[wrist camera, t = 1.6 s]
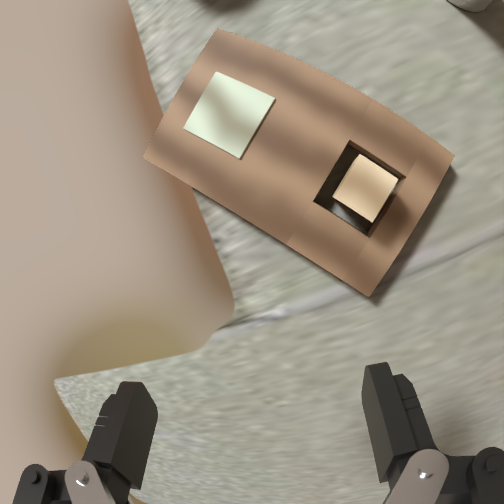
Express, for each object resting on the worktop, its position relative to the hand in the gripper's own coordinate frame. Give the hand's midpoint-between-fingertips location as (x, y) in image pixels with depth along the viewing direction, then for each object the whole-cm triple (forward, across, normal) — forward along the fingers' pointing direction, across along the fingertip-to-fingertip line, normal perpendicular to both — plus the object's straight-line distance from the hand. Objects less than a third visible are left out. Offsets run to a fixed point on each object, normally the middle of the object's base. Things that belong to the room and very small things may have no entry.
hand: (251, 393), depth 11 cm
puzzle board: (+29, -4, -2) cm, 29 cm away
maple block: (+26, -11, +2) cm, 29 cm away
